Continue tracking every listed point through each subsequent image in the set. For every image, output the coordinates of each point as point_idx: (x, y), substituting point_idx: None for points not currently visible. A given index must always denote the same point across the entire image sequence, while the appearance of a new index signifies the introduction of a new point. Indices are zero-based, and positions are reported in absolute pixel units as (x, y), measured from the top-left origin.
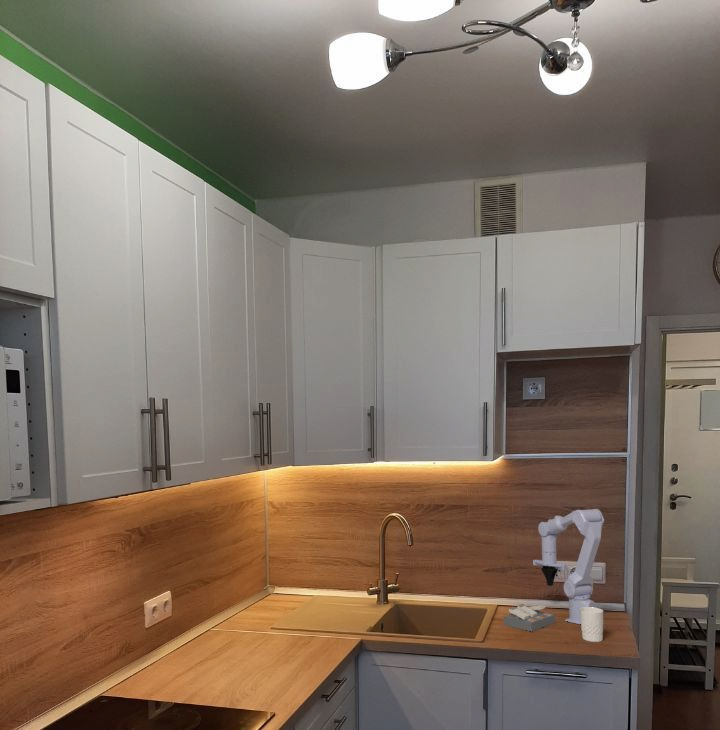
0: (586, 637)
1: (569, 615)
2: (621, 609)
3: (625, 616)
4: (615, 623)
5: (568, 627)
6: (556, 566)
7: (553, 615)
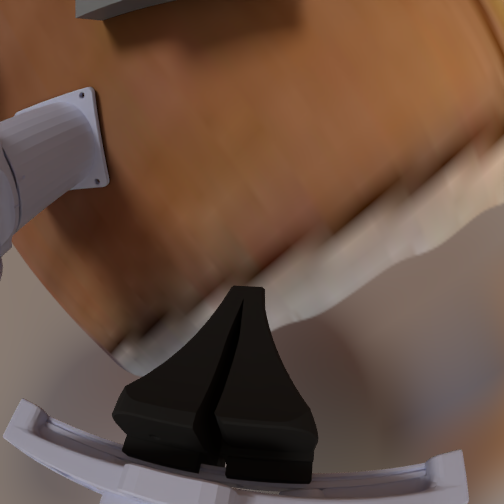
0: None
1: (71, 117)
2: (125, 363)
3: (66, 311)
4: None
5: (43, 36)
6: (57, 445)
7: (76, 5)
